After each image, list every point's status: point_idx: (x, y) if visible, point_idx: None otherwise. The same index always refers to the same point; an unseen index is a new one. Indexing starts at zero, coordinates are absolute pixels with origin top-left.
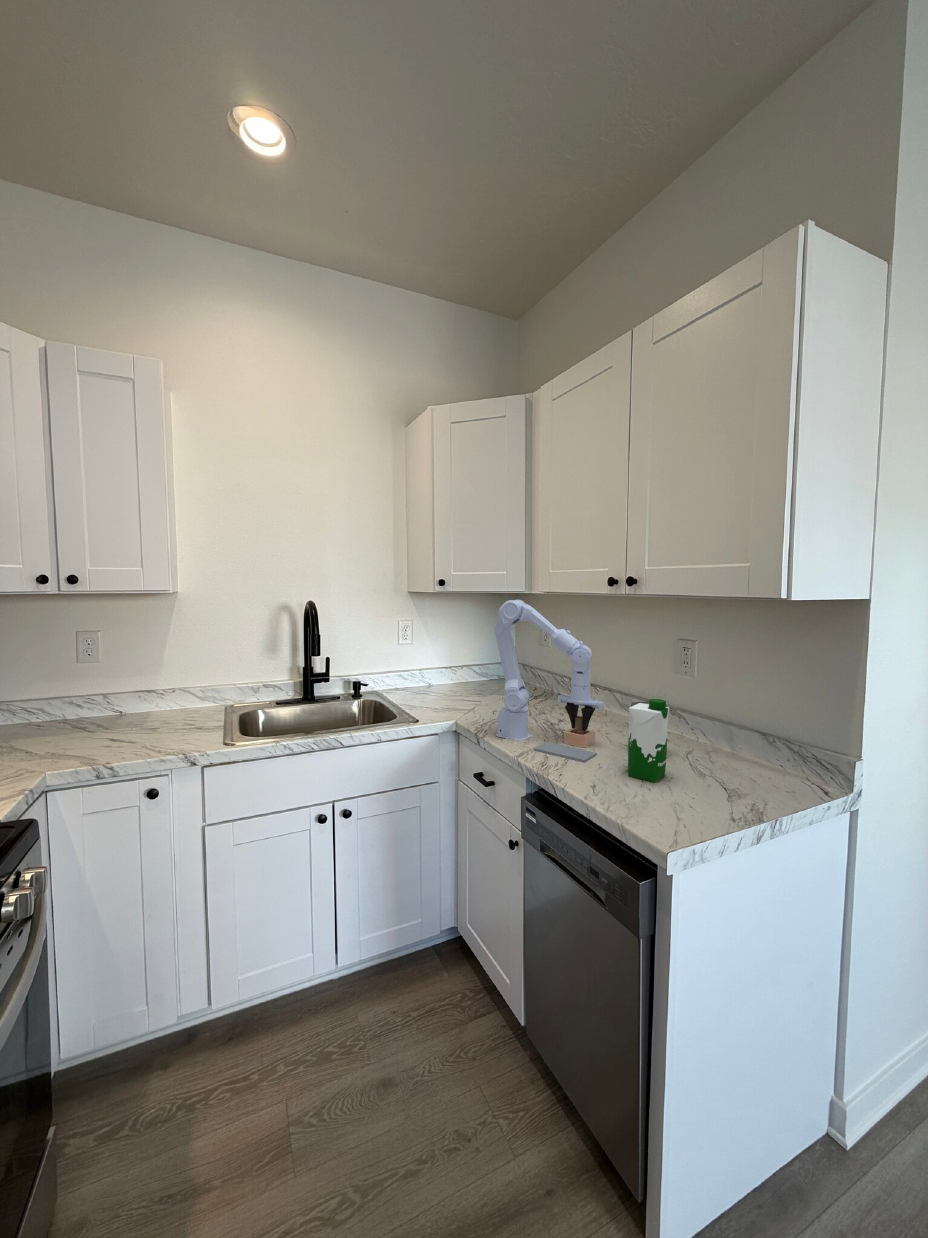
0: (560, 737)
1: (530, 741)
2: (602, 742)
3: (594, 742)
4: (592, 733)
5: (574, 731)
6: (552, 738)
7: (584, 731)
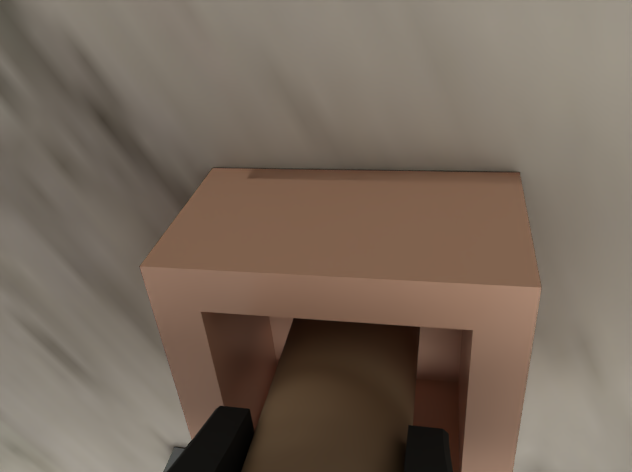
0: (55, 182)
1: (16, 418)
2: (603, 12)
3: (520, 191)
4: (527, 362)
5: (220, 318)
6: (39, 262)
7: (410, 422)
